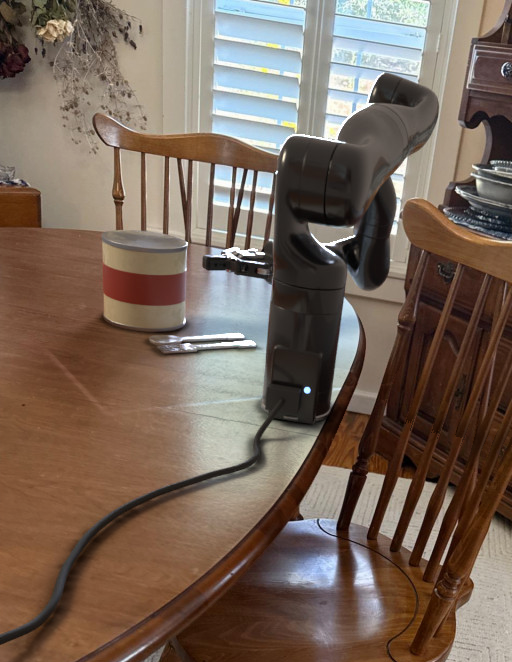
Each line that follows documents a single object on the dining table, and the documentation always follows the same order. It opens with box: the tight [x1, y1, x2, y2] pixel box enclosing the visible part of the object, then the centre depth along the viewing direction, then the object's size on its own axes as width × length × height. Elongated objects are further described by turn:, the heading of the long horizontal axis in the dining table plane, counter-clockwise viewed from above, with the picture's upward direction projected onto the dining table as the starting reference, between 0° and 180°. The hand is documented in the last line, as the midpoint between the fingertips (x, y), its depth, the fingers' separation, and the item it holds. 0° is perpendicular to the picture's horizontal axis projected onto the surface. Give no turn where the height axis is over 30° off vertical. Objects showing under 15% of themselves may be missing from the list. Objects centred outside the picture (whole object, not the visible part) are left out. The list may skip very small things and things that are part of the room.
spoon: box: [148, 332, 246, 346], centre depth 124 cm, size 16×4×1 cm, turn 126°
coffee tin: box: [101, 229, 189, 333], centre depth 126 cm, size 13×13×13 cm
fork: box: [156, 340, 257, 355], centre depth 121 cm, size 16×3×1 cm, turn 126°
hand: (204, 262), depth 131 cm, fingers closed
